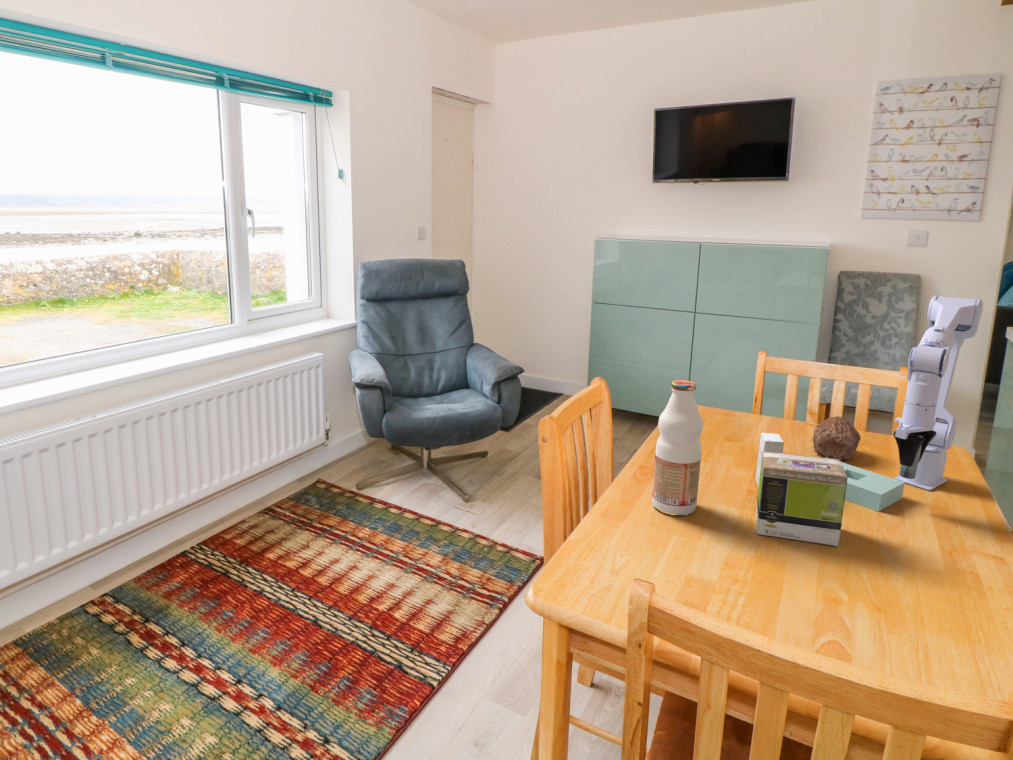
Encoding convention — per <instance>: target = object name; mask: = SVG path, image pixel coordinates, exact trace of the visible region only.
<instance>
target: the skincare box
mask: <svg viewBox="0 0 1013 760" xmlns="http://www.w3.org/2000/svg"><path fill="white" fill-rule="evenodd" d="M759 439H760V440H759V447H758V455H757V463H756V469H755V470H756V471H755V476H754V477H755V482H756V484H757V487H758V488H759V479H760V469H761V459H762V452H763V451H766V452H775V453H784V445H785V442H784V440H783V439H782V437H781V435H780V433H771V432H770V433H769V432H761V433H760V438H759Z"/></svg>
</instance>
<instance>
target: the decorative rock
mask: <svg viewBox="0 0 1013 760" xmlns="http://www.w3.org/2000/svg"><path fill="white" fill-rule="evenodd" d="M861 439H862V437H861V434H860V432H859V431H858V430H857V429H856V427H855V426H854V425H853V424H852V423H850V421H848V420H847V419H846V418H843V417H842V416H840V415H839V416H838V415H837V416H830V417H828V418H826V419H824V420H822V421H820V423H818V424H816V425H814V426H813V436H812V443H813V450H814V453H817V454H819V455H822V457H823V458H832V459H839V460H841V461H842V460H849V459H851V458H852V457H853V456H854V454H855V453H856V451H857V449H858V448H859V443H860V441H861Z"/></svg>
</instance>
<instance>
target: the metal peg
mask: <svg viewBox="0 0 1013 760" xmlns="http://www.w3.org/2000/svg"><path fill="white" fill-rule="evenodd" d="M916 435H917V437H921V438H923V437H924V436H923V435H922V434H920V433H916ZM921 447H922V445H921V446H920V448H919V450H918V452H917V454H916V457H915V460H914V463H913V465H912V466H911V467H908V466H905V465H901V464H900V469H899V474H898V476H899V475H900V476H901V477H904V478H907V479H915V477H916V472H917V467H918V462H919V457H920V452H921Z"/></svg>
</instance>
